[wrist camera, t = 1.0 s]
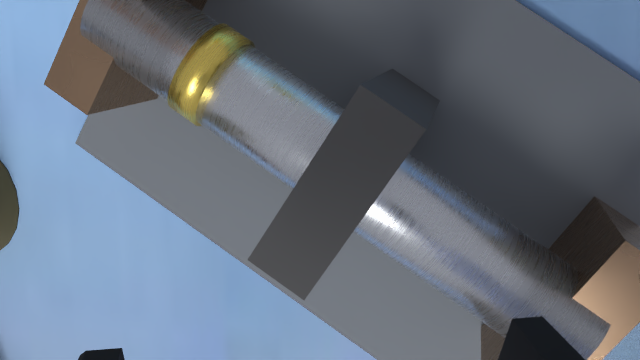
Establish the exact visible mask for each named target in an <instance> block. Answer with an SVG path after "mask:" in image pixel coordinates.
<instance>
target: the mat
mask: <svg viewBox="0 0 640 360" xmlns="http://www.w3.org/2000/svg"><path fill="white" fill-rule="evenodd" d="M202 12H203V13H204V14H206V15H207V16H209V17H210V18H212V19H213V20H215V21H216V22H217V23H219V24H222V23H224V24H227V25H229V26H230V27H231V28H233V29H234V30H236V31H237V32H239V33H240V34H242V35H243V36H245V37H246V38H248V39H249V40H250V41H252V42H253V43H254V45H255V49H257V50H258V51H260V52H261V53H263V54H264V55H266V56H267V57H269V58H270V59H271V60H273V61H274V62H276V63H277V64H279V65H280V66H282V67H283V68H285V69H286V70H288V71H289V72H290V73H292V74H293V75H295V76H296V77H298V78H299V79H301V80H302V81H304V82H305V83H306V84H308V85H309V86H311V87H312V88H314V89H315V90H317V91H318V92H320V93H321V94H323V95H324V96H325V97H327V98H328V99H330V100H331V101H333V102H334V103H336V104H337V105H339V106H340V107H342V108H343V109H345V108H346V106H347V105H348V103H349V102H350V100H351V98H352V97H353V95H354V94H355V92H356V91H357V89H358V88H359V86H360V85H361V84H363V83H365V82H367V81H369V80H371V79H373V78H375V77H376V76H378V75H380V74H382V73H384V72H386V71H388V70H390V69H394V70H395V71H397V72H398V73H400V74H401V75H403V76H404V77H406V78H407V79H409V80H410V81H412V82H413V83H415V84H416V85H418V86H419V87H421V88H422V89H424V90H425V91H427V92H428V93H429V94H431V95H432V96H434V97H435V98H437V99H438V100H440V102H439V104H438V106H437V109H436V111H435V113H434V115H433V117H432V119H431V121H430V123H429V125H428V127H427V129H426V130H425V132H424V133H423V135H422V136H421V137H420V139H419V140H418V142H417V143H416V144H415V146H414V147H413V149H412V150H411V151H410V153H409V154H410V155H412V156H413V157H414V158H416V159H417V160H419V161H420V162H422V163H423V164H425V165H426V166H428V167H429V168H431V169H432V170H433V171H435V172H436V173H438V174H439V175H441V176H442V177H444V178H445V179H447V180H448V181H449V182H451V183H452V184H454V185H455V186H457V187H458V188H460V189H461V190H463V191H464V192H466V193H467V194H468V195H470V196H471V197H473V198H474V199H476V200H477V201H479V202H480V203H482V204H483V205H484V206H486V207H487V208H489V209H490V210H492V211H493V212H495V213H496V214H498V215H499V216H501V217H502V218H503V219H505V220H506V221H508V222H509V223H511V224H512V225H514V226H515V227H517V228H518V229H519V230H521V231H522V232H524V233H525V234H527V235H528V236H530V237H531V238H533V239H534V240H536V241H537V242H538V243H540V244H541V245H543V246H544V247H546V248H547V249H549V248H550V247H551V246H552V244H553V243H554V242H555V241H556V240H557V239H558V238H559V236H560V235H561V234H562V233H563V232H564V231H565V229H566V228H567V227H568V226H569V225H570V224H571V223H572V221H573V220H574V219H575V218H576V217H577V216H578V215H579V213H580V212H581V211H582V210H583V209H584V208H585V207H586V205H587V204H588V203H589V202H590V201H591V200H592V199H593V197H594V196H595V197H597V198H598V199H600V200H601V201H603V202H604V203H606V204H607V205H609V206H610V207H612V208H613V209H615V210H616V211H618V212H619V213H621V214H622V215H624V216H625V217H627V218H628V219H630V220H631V221H633V222H634V223H635V224H637V225H638V226H640V81H638V80H637V79H635V78H634V77H632V76H631V75H629V74H628V73H626V72H625V71H623V70H621V69H620V68H618V67H617V66H615V65H614V64H612V63H611V62H609V61H608V60H606V59H605V58H603V57H602V56H600V55H599V54H597V53H595V52H594V51H592V50H591V49H589V48H588V47H586V46H585V45H583V44H582V43H580V42H579V41H577V40H576V39H574V38H573V37H571V36H570V35H568V34H566V33H565V32H563V31H562V30H560V29H559V28H557V27H556V26H554V25H553V24H551V23H550V22H548V21H547V20H545V19H544V18H542V17H540V16H539V15H537V14H536V13H534V12H533V11H531V10H530V9H528V8H527V7H525V6H524V5H522V4H521V3H519V2H518V1H516V0H207V2H206V4H205V6H204V8H203V10H202ZM76 144H77V145H79V146H80V147H82V148H83V149H84V150H86V151H87V152H88V153H90V154H91V155H93V156H94V157H95V158H97V159H98V160H100V161H101V162H102V163H104V164H105V165H107V166H108V167H109V168H111V169H112V170H114V171H115V172H116V173H118V174H119V175H121V176H122V177H123V178H125V179H126V180H128V181H129V182H130V183H132V184H133V185H134V186H136V187H137V188H139V189H140V190H141V191H143V192H144V193H146V194H147V195H148V196H150V197H151V198H153V199H154V200H155V201H157V202H158V203H160V204H161V205H162V206H164V207H165V208H167V209H168V210H169V211H171V212H172V213H174V214H175V215H176V216H178V217H179V218H181V219H182V220H183V221H185V222H186V223H187V224H189V225H190V226H192V227H193V228H194V229H196V230H197V231H199V232H200V233H201V234H203V235H204V236H206V237H207V238H208V239H210V240H211V241H213V242H214V243H215V244H217V245H218V246H220V247H221V248H222V249H224V250H225V251H227V252H228V253H229V254H231V255H232V256H233V257H235V258H236V259H238V260H239V261H240V262H242V263H243V264H245V265H246V266H247V267H249V268H250V269H252V270H253V271H254V272H256V273H257V274H259V275H260V276H261V277H263V278H264V279H266V280H267V281H268V282H270V283H271V284H273V285H274V286H275V287H277V288H278V289H279V290H281V291H282V292H284V293H285V294H286V295H288V296H289V297H291V298H292V299H293V300H295V301H296V302H298V303H299V304H300V305H302V306H303V307H305V308H306V309H307V310H309V311H310V312H312V313H313V314H314V315H316V316H317V317H319V318H320V319H321V320H323V321H324V322H325V323H327V324H328V325H330V326H331V327H332V328H334V329H335V330H337V331H338V332H339V333H341V334H342V335H344V336H345V337H346V338H348V339H349V340H351V341H352V342H353V343H355V344H356V345H358V346H359V347H360V348H362V349H363V350H365V351H366V352H367V353H369V354H370V355H371V356H373V357H374V358H376V359H377V360H481V326H482V324H483V322H482V321H480V320H479V319H477V318H476V317H474V316H473V315H472V314H470V313H469V312H467V311H466V310H464V309H463V308H462V307H460V306H459V305H457V304H456V303H454V302H453V301H452V300H450V299H449V298H447V297H446V296H444V295H443V294H442V293H440V292H439V291H437V290H436V289H435V288H433V287H432V286H430V285H429V284H427V283H426V282H425V281H423V280H422V279H420V278H419V277H417V276H416V275H415V274H413V273H412V272H410V271H409V270H407V269H406V268H405V267H403V266H402V265H400V264H399V263H397V262H396V261H395V260H393V259H392V258H390V257H389V256H387V255H386V254H385V253H383V252H382V251H380V250H379V249H378V248H376V247H375V246H373V245H372V244H370V243H369V242H368V241H366V240H365V239H363V238H362V237H360V236H359V235H358V234H356V233H355V232H353V233H352V234H351V236H350V237H349V238H348V240H347V241H346V243H345V244H344V245H343V247H342V248H341V250H340V251H339V252H338V254H337V255H336V257H335V258H334V259H333V261H332V262H331V264H330V265H329V266H328V268H327V269H326V271H325V272H324V273H323V275H322V276H321V278H320V279H319V280H318V282H317V283H316V285H315V286H314V287H313V289H312V290H311V292H310V293H309V295H308V296H307V297H306V299H305V300H303V299H301V298H300V297H298V296H297V295H296V294H294V293H293V292H291V291H290V290H289V289H287V288H286V287H284V286H283V285H282V284H280V283H279V282H277V281H276V280H275V279H273V278H272V277H270V276H269V275H268V274H266V273H265V272H263V271H262V270H261V269H259V268H258V267H257V266H255V265H254V264H252V263H251V262H250V261H248V258H249V256H250V255H251V253H252V252H253V250H254V249H255V247H256V246H257V244H258V243H259V241H260V239H261V238H262V236H263V235H264V233H265V232H266V230H267V229H268V227H269V225H270V224H271V222H272V221H273V219H274V218H275V216H276V215H277V213H278V212H279V210H280V208H281V207H282V205H283V204H284V202H285V201H286V199H287V198H288V196H289V195H290V193H291V191H292V190H293V189H292V188H291V187H289V186H288V185H286V184H285V183H283V182H282V181H281V180H279V179H278V178H276V177H275V176H273V175H272V174H271V173H269V172H268V171H266V170H265V169H264V168H262V167H261V166H259V165H258V164H256V163H255V162H254V161H252V160H251V159H249V158H248V157H246V156H245V155H244V154H242V153H241V152H239V151H238V150H236V149H235V148H234V147H232V146H231V145H229V144H228V143H226V142H225V141H224V140H222V139H221V138H219V137H218V136H216V135H215V134H214V133H212V132H211V131H209V130H208V129H207V128H205V127H204V126H196V125H194V124H193V123H191V122H190V121H189V120H187V119H186V118H184V117H183V116H181V115H180V114H179V113H177V112H176V111H174V110H173V109H172V108H170V107H169V105H168V101H167V100H165V99H164V98H162V97H161V96H158V98H157V99H155V100H150V101H146V102H142V103H137V104H133V105H129V106H124V107H120V108H115V109H111V110H107V111H102V112H98V113H94V114H89V115H88V117H87V119H86V122H85V124H84V126H83V128H82V130H81V132H80V134H79V136H78V139H77V141H76Z"/></svg>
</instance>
